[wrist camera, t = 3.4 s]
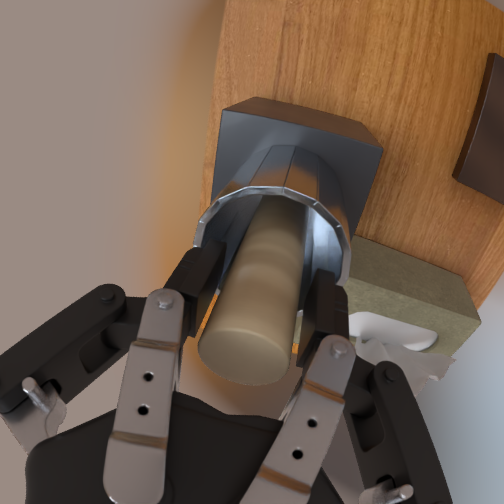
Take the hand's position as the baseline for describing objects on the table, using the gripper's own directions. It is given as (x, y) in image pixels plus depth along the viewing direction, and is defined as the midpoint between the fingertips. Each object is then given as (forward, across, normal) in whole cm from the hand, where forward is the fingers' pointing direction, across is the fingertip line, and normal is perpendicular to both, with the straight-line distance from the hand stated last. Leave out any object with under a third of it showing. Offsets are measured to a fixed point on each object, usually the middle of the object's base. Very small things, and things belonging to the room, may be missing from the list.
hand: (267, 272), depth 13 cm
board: (+18, -20, -10) cm, 29 cm away
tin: (+8, 0, 0) cm, 8 cm away
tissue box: (+18, -14, +11) cm, 25 cm away
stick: (+7, 0, 0) cm, 7 cm away
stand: (+18, 0, 0) cm, 18 cm away
